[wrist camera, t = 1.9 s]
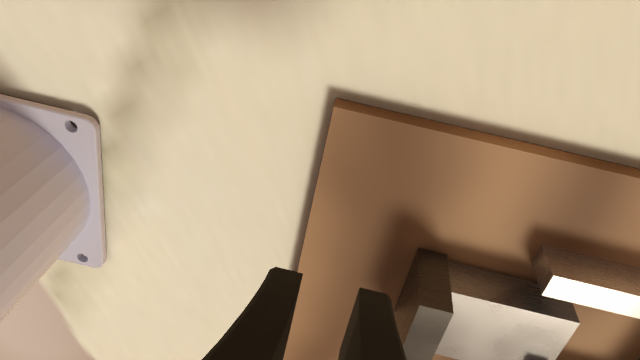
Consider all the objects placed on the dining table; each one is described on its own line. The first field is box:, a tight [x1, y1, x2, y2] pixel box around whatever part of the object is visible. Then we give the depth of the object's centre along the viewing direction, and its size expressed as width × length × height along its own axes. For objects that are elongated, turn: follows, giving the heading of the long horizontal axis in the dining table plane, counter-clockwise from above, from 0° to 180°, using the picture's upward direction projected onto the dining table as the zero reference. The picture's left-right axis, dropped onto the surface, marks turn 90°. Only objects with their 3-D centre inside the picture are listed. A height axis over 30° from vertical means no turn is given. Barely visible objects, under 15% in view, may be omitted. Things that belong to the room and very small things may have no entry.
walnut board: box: [283, 98, 640, 360], centre depth 22 cm, size 18×14×1 cm
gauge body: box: [532, 244, 640, 360], centre depth 20 cm, size 8×7×3 cm
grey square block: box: [393, 248, 580, 360], centre depth 20 cm, size 6×6×3 cm
